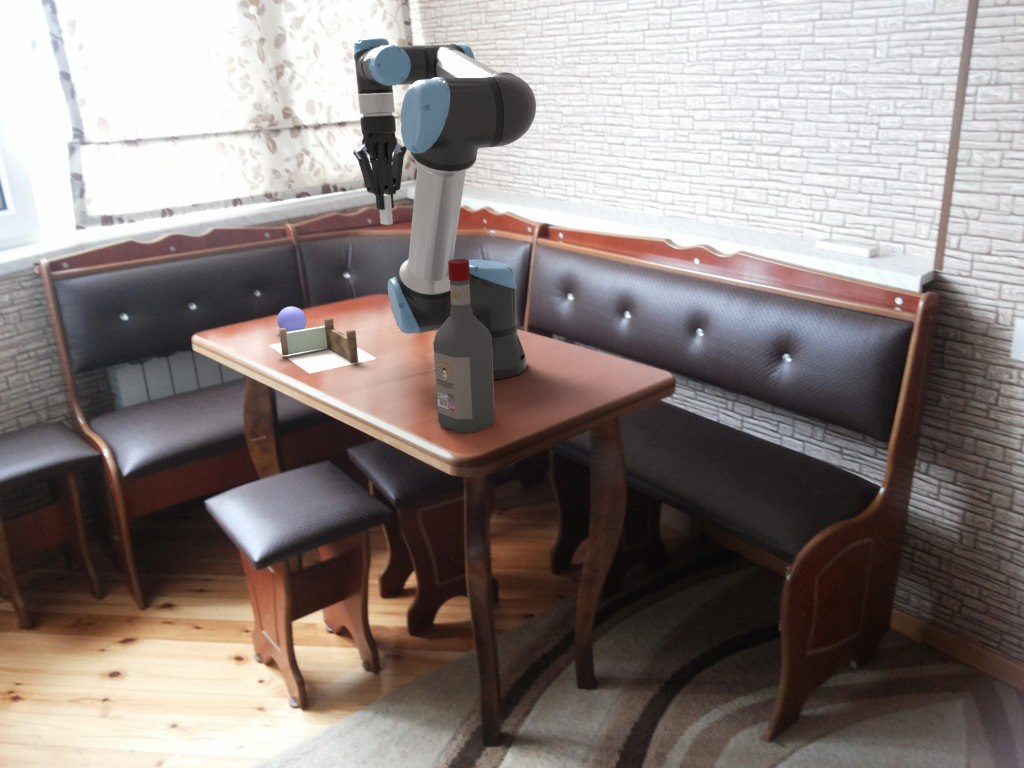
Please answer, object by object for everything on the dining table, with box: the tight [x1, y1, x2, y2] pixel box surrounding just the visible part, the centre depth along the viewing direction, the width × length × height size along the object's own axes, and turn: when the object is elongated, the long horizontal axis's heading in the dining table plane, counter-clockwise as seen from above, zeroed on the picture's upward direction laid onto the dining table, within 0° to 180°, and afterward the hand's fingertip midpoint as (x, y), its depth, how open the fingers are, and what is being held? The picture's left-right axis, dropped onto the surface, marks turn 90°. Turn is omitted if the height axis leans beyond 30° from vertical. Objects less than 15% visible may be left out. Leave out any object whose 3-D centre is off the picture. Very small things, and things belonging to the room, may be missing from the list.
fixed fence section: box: [323, 317, 358, 364], centre depth 197 cm, size 14×2×7 cm, turn 34°
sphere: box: [276, 306, 307, 332], centre depth 216 cm, size 7×7×7 cm
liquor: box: [432, 258, 496, 434], centre depth 154 cm, size 9×9×30 cm
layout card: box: [268, 342, 378, 374], centre depth 201 cm, size 26×16×1 cm, turn 34°
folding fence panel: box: [278, 325, 327, 356], centre depth 200 cm, size 10×2×6 cm, turn 119°
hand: (386, 223), depth 197 cm, fingers closed
